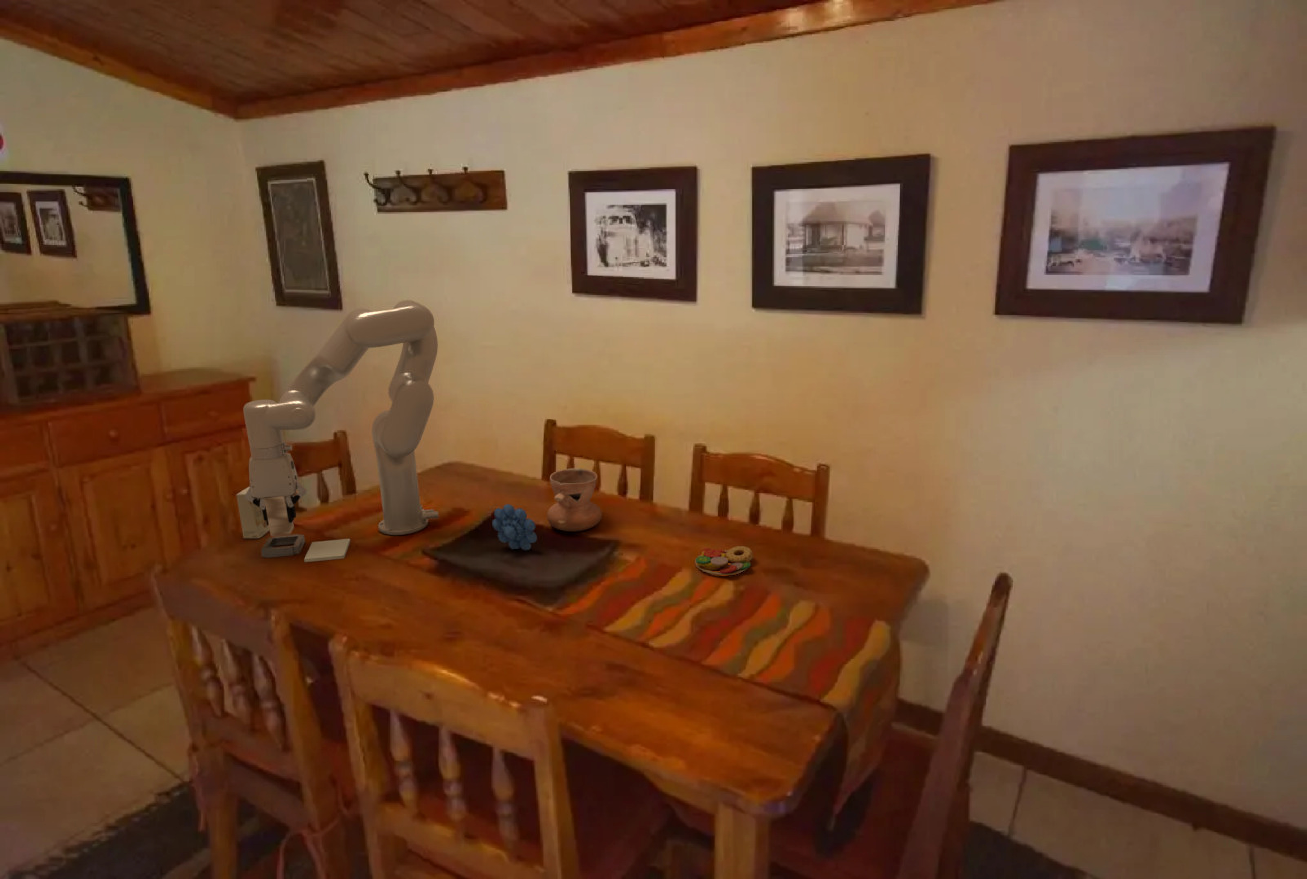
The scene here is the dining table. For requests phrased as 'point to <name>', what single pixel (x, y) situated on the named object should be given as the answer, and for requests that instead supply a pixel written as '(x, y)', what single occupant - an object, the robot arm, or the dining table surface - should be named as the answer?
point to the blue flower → (514, 527)
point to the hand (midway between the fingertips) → (280, 520)
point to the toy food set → (724, 560)
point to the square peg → (278, 516)
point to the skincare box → (251, 517)
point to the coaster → (327, 550)
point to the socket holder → (283, 551)
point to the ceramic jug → (573, 500)
